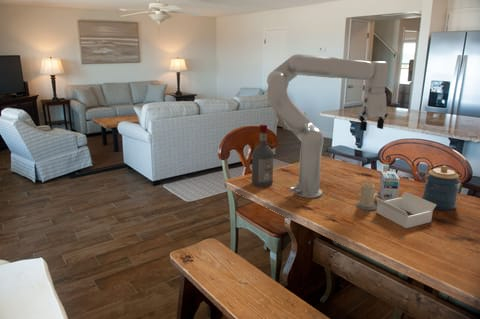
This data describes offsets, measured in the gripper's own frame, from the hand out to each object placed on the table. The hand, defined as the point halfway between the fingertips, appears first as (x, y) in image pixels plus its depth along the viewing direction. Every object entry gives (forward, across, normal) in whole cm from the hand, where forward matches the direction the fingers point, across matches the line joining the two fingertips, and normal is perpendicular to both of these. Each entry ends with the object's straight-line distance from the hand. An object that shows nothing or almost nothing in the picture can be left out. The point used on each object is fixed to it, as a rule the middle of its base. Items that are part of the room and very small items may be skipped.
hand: (371, 129), depth 163 cm
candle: (+30, -11, -13) cm, 34 cm away
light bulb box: (+31, +6, -8) cm, 32 cm away
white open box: (+30, -5, -27) cm, 41 cm away
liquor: (+31, -39, +30) cm, 58 cm away
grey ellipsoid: (+30, -11, -13) cm, 35 cm away
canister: (+31, +19, -24) cm, 43 cm away
